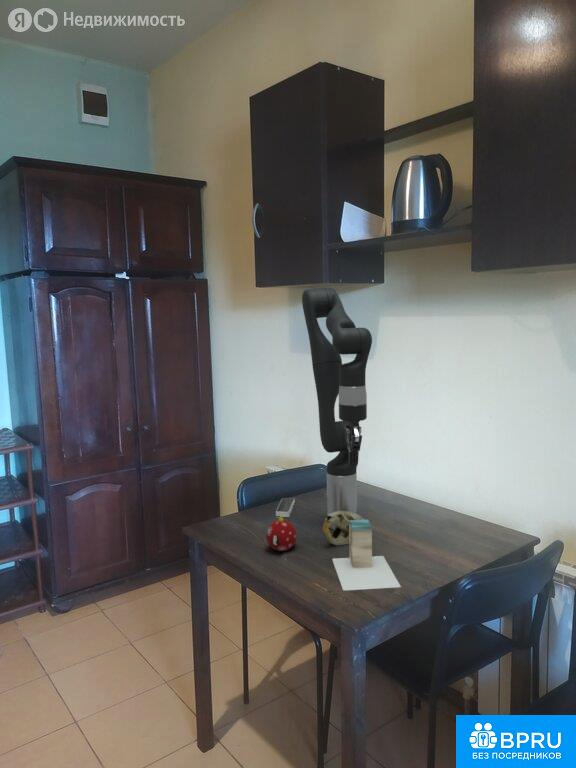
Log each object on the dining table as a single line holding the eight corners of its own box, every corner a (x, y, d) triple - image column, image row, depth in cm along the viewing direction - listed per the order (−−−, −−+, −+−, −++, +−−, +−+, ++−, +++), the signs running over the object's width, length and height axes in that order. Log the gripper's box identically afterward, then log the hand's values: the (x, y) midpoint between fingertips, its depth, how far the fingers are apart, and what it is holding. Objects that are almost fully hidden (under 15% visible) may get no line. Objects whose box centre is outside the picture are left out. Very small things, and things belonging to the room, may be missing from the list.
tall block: (349, 560, 153) (349, 520, 152) (368, 559, 154) (367, 519, 152) (353, 568, 148) (352, 527, 147) (372, 567, 149) (371, 526, 148)
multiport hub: (275, 518, 189) (275, 511, 189) (282, 504, 203) (282, 497, 203) (288, 518, 188) (288, 512, 188) (294, 504, 203) (294, 498, 202)
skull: (307, 540, 164) (314, 506, 164) (342, 540, 175) (349, 507, 176) (333, 551, 157) (340, 515, 157) (367, 550, 168) (374, 516, 169)
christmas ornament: (302, 546, 165) (301, 513, 163) (288, 558, 157) (287, 523, 156) (275, 542, 168) (274, 509, 167) (261, 553, 161) (260, 518, 160)
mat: (332, 560, 155) (332, 558, 155) (383, 557, 156) (383, 555, 156) (343, 592, 137) (343, 590, 137) (401, 589, 138) (401, 587, 138)
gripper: (335, 398, 161) (335, 459, 163) (343, 406, 148) (343, 471, 150) (361, 397, 162) (361, 458, 164) (371, 405, 149) (372, 470, 151)
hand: (353, 464), depth 157 cm, fingers closed
